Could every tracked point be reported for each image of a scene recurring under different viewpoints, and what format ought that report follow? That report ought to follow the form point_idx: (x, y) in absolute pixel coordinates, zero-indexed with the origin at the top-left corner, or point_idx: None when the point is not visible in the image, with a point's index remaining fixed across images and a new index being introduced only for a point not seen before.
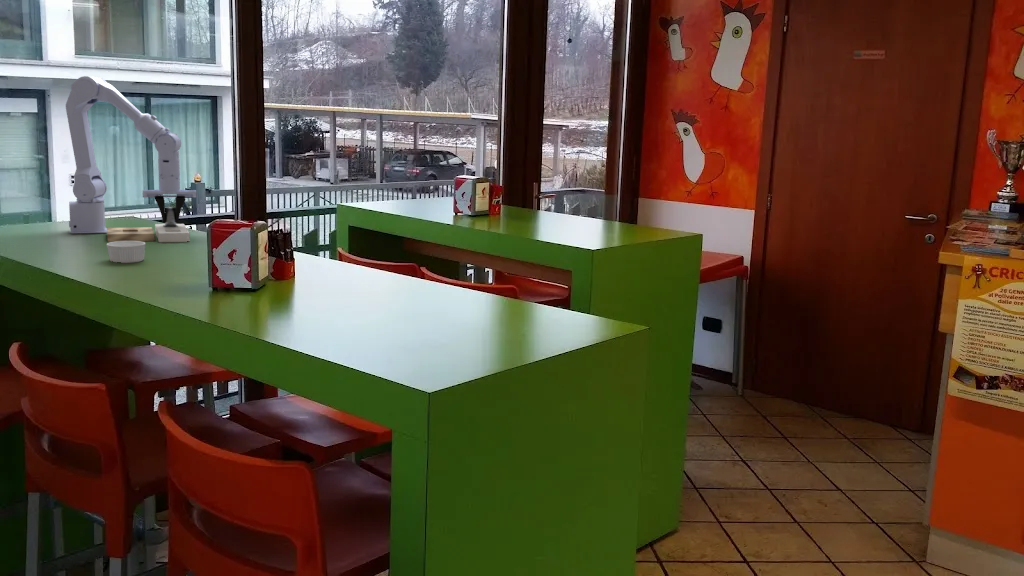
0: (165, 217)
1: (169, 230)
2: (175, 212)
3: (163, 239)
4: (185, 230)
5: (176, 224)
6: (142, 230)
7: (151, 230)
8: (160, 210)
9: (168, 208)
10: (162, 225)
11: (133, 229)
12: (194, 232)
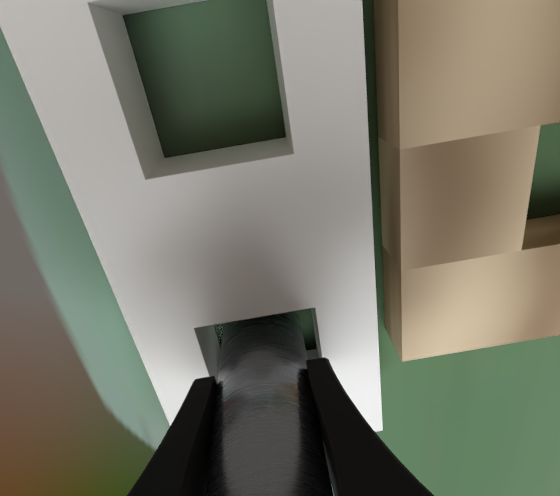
0: (312, 405)
1: (248, 159)
2: (208, 472)
3: None
4: (66, 119)
5: None
6: (491, 202)
7: (414, 209)
8: (385, 446)
9: (287, 493)
10: None
11: (554, 249)
12: (127, 410)
